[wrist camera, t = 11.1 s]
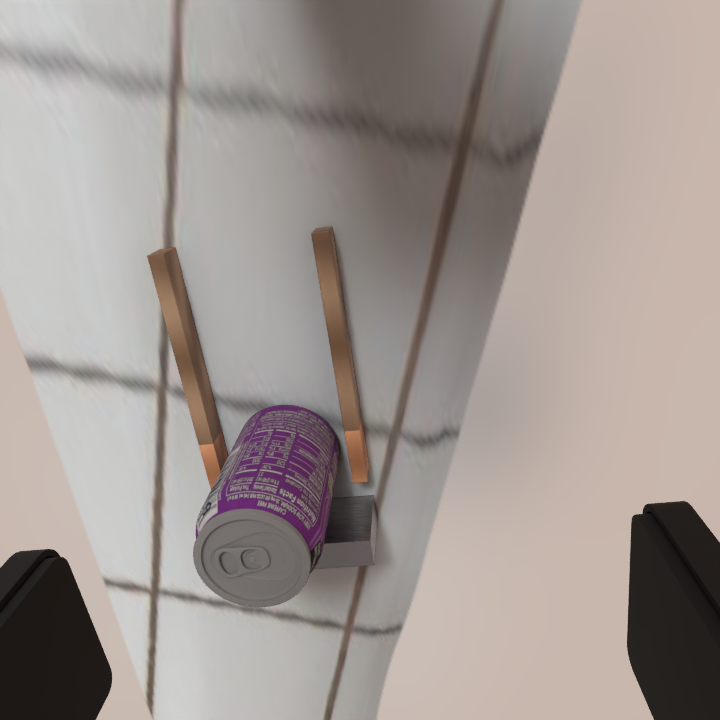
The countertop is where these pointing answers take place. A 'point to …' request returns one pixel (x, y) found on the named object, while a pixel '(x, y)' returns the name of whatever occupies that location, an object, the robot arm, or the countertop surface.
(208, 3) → the countertop surface
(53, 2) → the countertop surface
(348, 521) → the guide channel
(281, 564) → the beverage can
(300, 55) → the countertop surface
